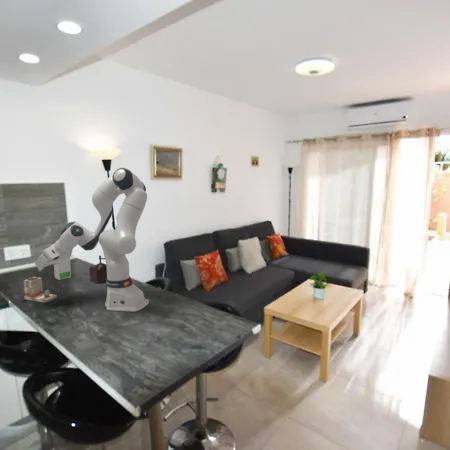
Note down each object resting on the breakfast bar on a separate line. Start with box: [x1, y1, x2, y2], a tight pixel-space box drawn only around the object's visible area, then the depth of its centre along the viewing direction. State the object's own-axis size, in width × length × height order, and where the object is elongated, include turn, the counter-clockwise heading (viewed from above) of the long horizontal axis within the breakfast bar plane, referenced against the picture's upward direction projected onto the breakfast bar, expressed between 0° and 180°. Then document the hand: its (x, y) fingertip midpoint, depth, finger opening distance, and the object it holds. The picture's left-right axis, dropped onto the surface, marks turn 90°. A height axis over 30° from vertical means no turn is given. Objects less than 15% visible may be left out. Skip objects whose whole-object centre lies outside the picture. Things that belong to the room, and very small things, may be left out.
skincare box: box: [53, 255, 72, 281], centre depth 195 cm, size 8×7×16 cm
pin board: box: [23, 289, 58, 304], centre depth 161 cm, size 15×7×5 cm, turn 74°
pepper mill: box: [89, 254, 107, 284], centre depth 193 cm, size 16×11×18 cm
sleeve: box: [22, 276, 44, 298], centre depth 162 cm, size 6×6×9 cm
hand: (47, 266), depth 159 cm, fingers open, 8 cm apart
